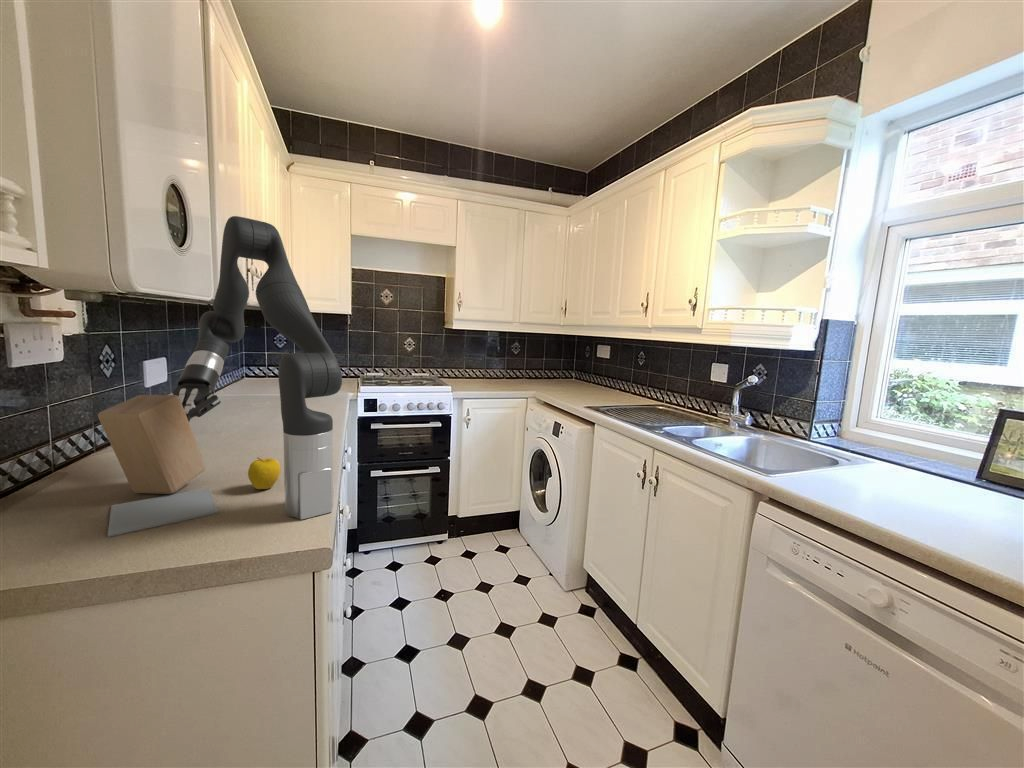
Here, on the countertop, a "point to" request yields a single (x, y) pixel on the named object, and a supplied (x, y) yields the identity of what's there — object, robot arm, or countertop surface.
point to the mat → (160, 511)
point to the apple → (264, 473)
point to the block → (153, 443)
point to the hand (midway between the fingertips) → (177, 430)
